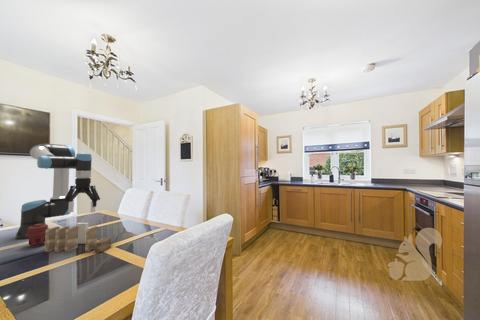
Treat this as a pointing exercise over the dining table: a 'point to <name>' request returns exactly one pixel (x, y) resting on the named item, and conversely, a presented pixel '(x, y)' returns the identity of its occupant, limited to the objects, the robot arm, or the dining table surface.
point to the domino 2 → (60, 239)
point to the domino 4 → (82, 232)
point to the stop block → (102, 244)
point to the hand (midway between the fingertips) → (81, 212)
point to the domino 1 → (50, 239)
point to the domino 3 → (71, 239)
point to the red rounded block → (36, 234)
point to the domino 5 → (90, 238)
